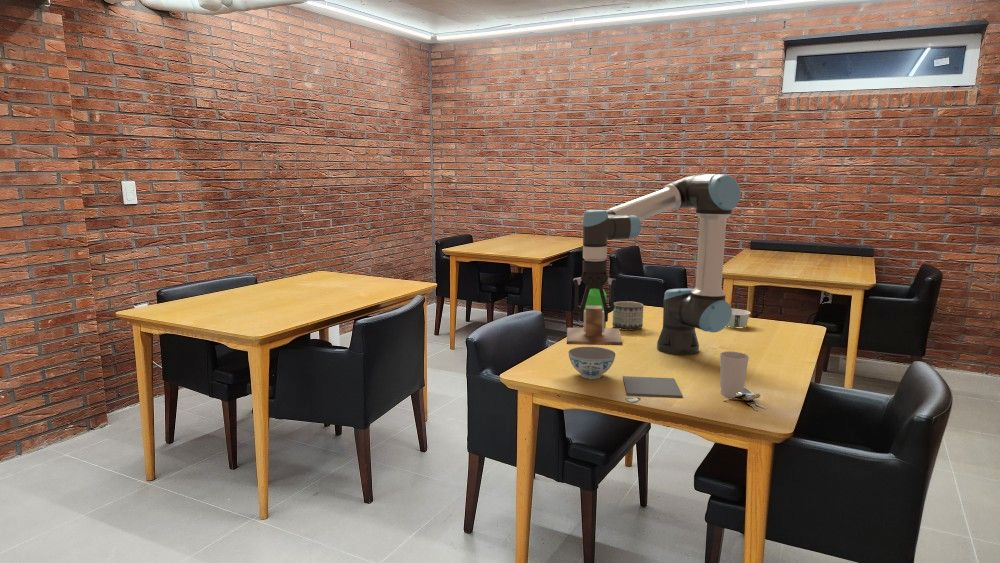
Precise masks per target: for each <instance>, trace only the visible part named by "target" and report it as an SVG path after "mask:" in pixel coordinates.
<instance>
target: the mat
mask: <svg viewBox="0 0 1000 563" xmlns="http://www.w3.org/2000/svg"><path fill="white" fill-rule="evenodd" d="M622 380H623V385H624V389H625V392H626V396H635V397H637V396H638V397H639V396H640V397H662V398H664V397H665V398H683V397H684V395H683V393H682V391H681V389H680V387H679V385H678V383H677V381H676V379H675V378H674V377H655V376H654V377H653V376H652V377H651V376H650V377H649V376H631V375H629V376H626V375H623V376H622Z"/></svg>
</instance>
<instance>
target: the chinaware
mask: <svg viewBox="0 0 1000 563" xmlns="http://www.w3.org/2000/svg"><path fill="white" fill-rule="evenodd" d="M568 358H569V361H570V364H571V365H572V367H573V368H574V369H575V370H576V371H577V372H578V373H580V376H581V377H582V378H584V379H587V378H588V380H596V379H597V378H598V379H600V377H601V378H602V376H603V374H605V373H606V372H608V371H609V370H610V369H611V368H612V365H613V364H614V361H615V359H616V352H615V351H614V350H611V349H608V348H605V347H601V346H600V347H599V346H578V347H574V348H571V349H569V350H568ZM598 379H597V380H598Z"/></svg>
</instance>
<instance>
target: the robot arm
mask: <svg viewBox="0 0 1000 563" xmlns="http://www.w3.org/2000/svg"><path fill="white" fill-rule="evenodd" d="M741 194H742V192H741V187H740V184H739V183H738V181H737V180H736V178H735V177H733V176H731V175H729V174H723V173H716V174H715V173H713V174H712V173H710V174H700V173H699V174H697V173H696V174H692V175H689V176H686V177H683V178H680V179H678V180H675V181H673V182H670V183H668V184H665V185H664V186H663V188H662V189H659V190H657V191H654V192H652V193H651V192H650V193H649V194H646V195H643V196H641V197H638V198H635V199H633V200H630V201H626V202H625V203H622V204H619V205H617V206H614V207H611V208H608V209H606V210H605V209H588V210H586V211H584V213H583V217H582V259H583V260H582V273H581V276H580V277H574V278H573V280H572V282H573V284H574V310H575V311H578V312H579V321H580V322H583V328H584V329H583V330H584V332H586V310H585V305H586V302H587V298H588V294H589V291H590V289H594V288H595V289H599V291H600V295H601V299H602V303H603V307H604V311H602V333H604V322H606V323H607V322H608V321H609V312H610V311H613V310H614V303H615V286H616V283H617V280H616V278H613V277H612V278H611V277H609V276H608V273H607V269H608V268H607V267H608V261H607V260H606V259H607V258H608V241H610V240H623V239H624V240H629V239H635V238H637V237H638V236H640V234H641V231H642V223H641V221H643V220H645V219H648V218H650V217H653V216H655V215H659V214H660V213H661V214H662V213H663V212H667V211H669V210H672V211H677V210H679V209H684V208H685V209H686V208H694V209H695V215H696V216H697V217H698V218H699V230H698V241H697V242H698V245H697V246H698V247H697V258H696V259H697V260H696V274H695V277H696V278H695V287H694V288H691V287H689V288H687V287H686V288H683V287H682V288H672V289H671V288H670V289H667V290H666V291H665V292H664V298H663V309H662V310H663V312H662V314H663V315H662V329H661V331H660V334H659V337H658V339H657V340H656V341H657V342H656V348H657V350H658V351H660V352H663V353H667V354H673V355H694V354H697V353H699V350H700V344H699V340H698V337H697V333H696V329H698V330H701V331H703V332H709V333H718V332H721V331H722V330H724V329H725V328H726V327H725V326H727V325H728V323H729V321H730V319H731V315H732V309H733V308H732V306H730V303H729V302H727V300H726V295H727V294H726V292H725V291H724V290H723V288H722V287H723V286H722V284H723V275H724V274H723V271H724V256H725V242H726V233H727V232H726V231H727V230H726V229H727V228H726V227H727V219H729V218H730V217H731V216H732V214H733V212H732V211H733V209H735V208H736V207H737V206H738V204H739V203H740V202H741V201H740V200H741V196H742V195H741ZM581 282H583V284H584V286H585V289H584V294H583V296H582V297H583V298H582V301H581V304H580V305H579V297H580V296H579V295H580V288H579V287H580V285H581ZM606 283H608V285H609V306H608V304H607V299H605V295H604V291H605V290H604V291H603V289H604V288H603V287H604V285H605V284H606Z"/></svg>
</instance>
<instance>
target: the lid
mask: <svg viewBox="0 0 1000 563" xmlns="http://www.w3.org/2000/svg"><path fill="white" fill-rule="evenodd" d="M583 329H584V327H567V328H566V345H575V346H577V345H579V346H580V345H581V346H583V345H585V346H586V345H587V346H623V339H622V336H621V333H620V329H619V328H604V333H602V306H586V332H584V330H583Z"/></svg>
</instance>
